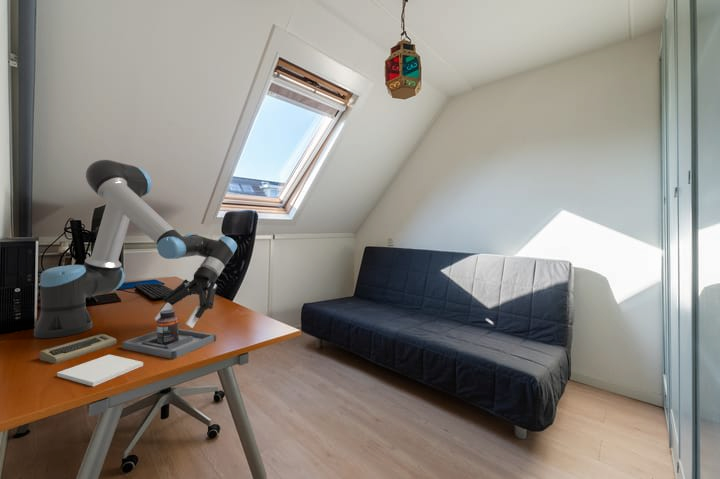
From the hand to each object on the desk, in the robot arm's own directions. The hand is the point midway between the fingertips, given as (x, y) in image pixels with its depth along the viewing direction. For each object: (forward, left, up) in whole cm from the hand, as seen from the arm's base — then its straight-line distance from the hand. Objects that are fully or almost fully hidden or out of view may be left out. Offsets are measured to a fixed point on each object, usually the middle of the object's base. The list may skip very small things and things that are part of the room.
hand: (172, 323), depth 99 cm
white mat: (-1, -20, -7) cm, 21 cm away
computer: (-21, -14, -8) cm, 26 cm away
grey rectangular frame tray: (-1, 0, -7) cm, 7 cm away
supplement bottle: (-1, -1, -7) cm, 7 cm away
